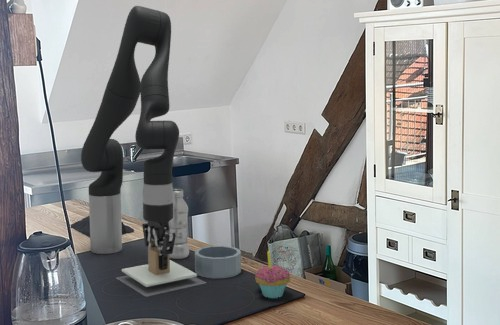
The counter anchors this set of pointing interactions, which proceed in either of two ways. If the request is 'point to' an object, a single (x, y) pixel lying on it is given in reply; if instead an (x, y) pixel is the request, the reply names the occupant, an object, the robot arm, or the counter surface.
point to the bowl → (217, 262)
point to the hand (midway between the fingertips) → (158, 266)
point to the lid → (157, 271)
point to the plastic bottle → (179, 226)
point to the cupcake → (272, 279)
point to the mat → (159, 285)
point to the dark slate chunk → (84, 227)
